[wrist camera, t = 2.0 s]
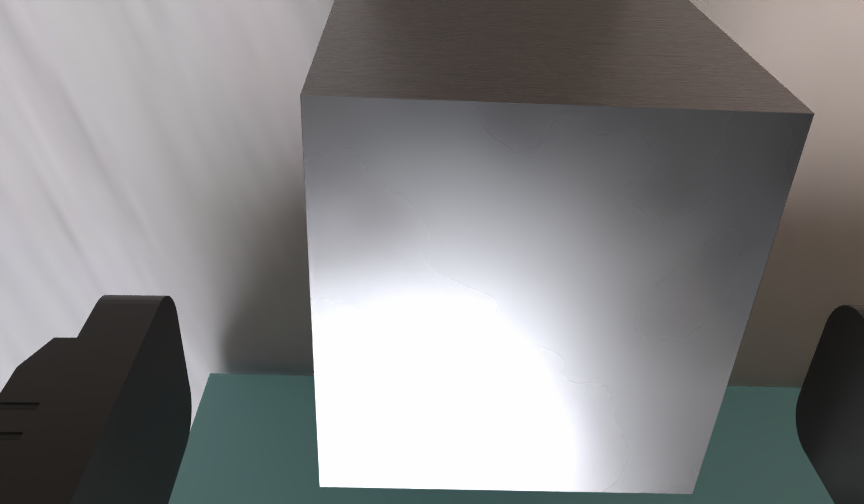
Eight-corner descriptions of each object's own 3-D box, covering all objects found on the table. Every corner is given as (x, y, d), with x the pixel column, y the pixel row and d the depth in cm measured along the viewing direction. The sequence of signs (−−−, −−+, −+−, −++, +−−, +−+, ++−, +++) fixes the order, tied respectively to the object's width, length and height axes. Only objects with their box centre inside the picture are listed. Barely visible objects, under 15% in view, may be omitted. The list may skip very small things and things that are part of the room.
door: (902, 389, 20) (1061, 597, 15) (887, 423, 21) (1033, 633, 16) (210, 373, 20) (137, 583, 15) (215, 408, 21) (147, 620, 15)
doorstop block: (638, -44, 15) (814, 113, 8) (592, 223, 18) (691, 494, 12) (355, -57, 15) (299, 95, 8) (357, 216, 18) (320, 486, 11)
